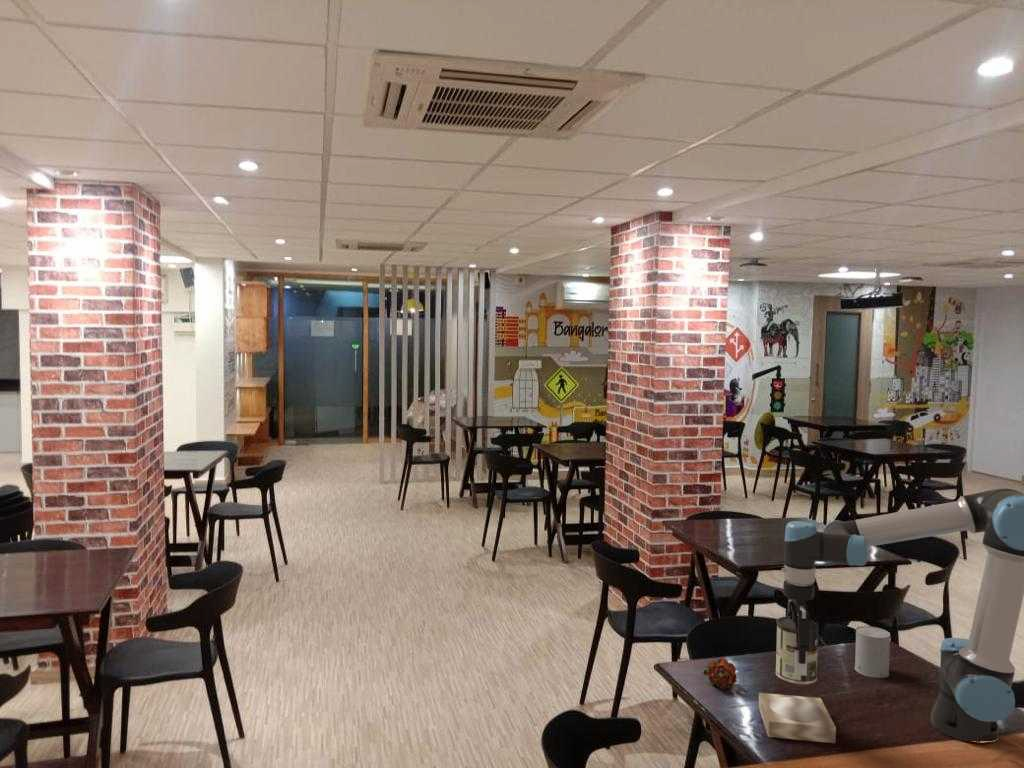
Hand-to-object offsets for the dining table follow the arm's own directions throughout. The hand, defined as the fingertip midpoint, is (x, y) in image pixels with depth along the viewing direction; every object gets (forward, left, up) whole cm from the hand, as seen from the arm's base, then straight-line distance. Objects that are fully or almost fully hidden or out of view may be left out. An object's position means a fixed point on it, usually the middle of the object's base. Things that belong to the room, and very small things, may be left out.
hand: (796, 665), depth 192 cm
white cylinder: (-30, -39, -16) cm, 52 cm away
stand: (0, 0, -16) cm, 16 cm away
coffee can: (0, 0, -3) cm, 3 cm away
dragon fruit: (+17, -20, -16) cm, 31 cm away
